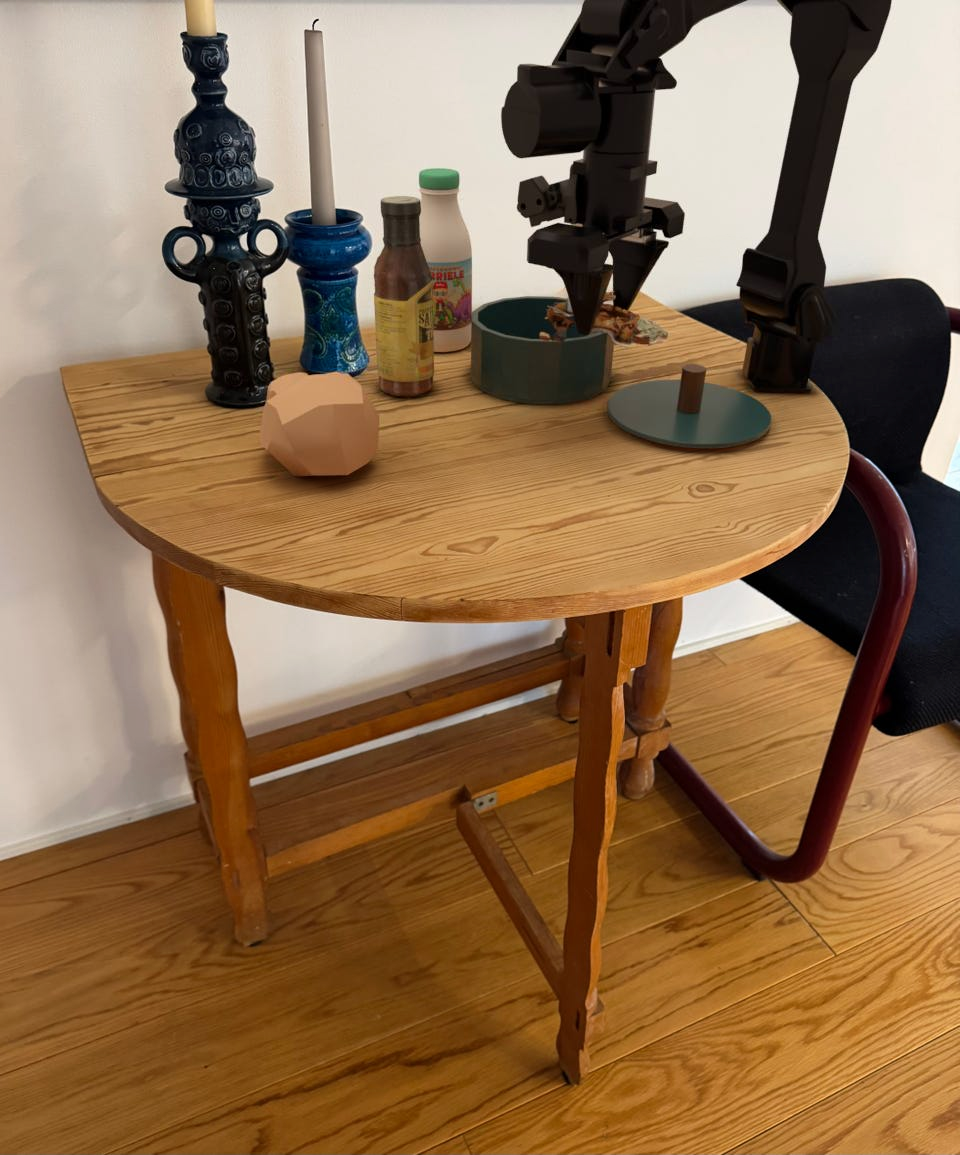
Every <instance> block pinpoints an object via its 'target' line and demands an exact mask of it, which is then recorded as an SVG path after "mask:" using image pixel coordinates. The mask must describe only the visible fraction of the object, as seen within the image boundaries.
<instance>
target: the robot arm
mask: <svg viewBox="0 0 960 1155" xmlns="http://www.w3.org/2000/svg"><path fill="white" fill-rule="evenodd" d="M747 1H748V0H583V2H582V5H581V10H580V13H579V15H578V17H577V18H576V20H575V22H574V24H573V26H572V27H571V29H570V30H569V32H568V34H567V36H566V38H565V39H564V41H563V43H562V44H561V46H560V48H559V50H558V52H557V53H556V55H555V56H554V58H553V60H552V62H551V65H550V64H549V65H542V64H536V63H520V64H518V65H517V68H516V70H517V71H516V81H515V82H514V83H513V84H511V85H510V87H509V89H508V91H507V94H506V96H505V99H504V105H503V106H502V107H501V110H500V111H501V113H500V120H501V121H500V122H501V131H502V135H503V139H504V141H505V144H506V146H507V149H508V150H509V151H510V152H511V154H512V155H513V156H515V157H516V158H518V159H530V158H531V159H532V158H538V157H539V158H540V157H548V156H550V157H551V156H558V155H568V154H578V153H581V152H582V158H580V159H576V160H573V161H572V164H571V165H570V167H569V178H567V179H564V180H560V181H557V182H553V183H549V182H548V181H547V179H546V177H545V176H544V175H538V176H535V177H531V178H528V179H524V180H520V181H519V185H518V192H517V204H516V211H517V212H518V213H519V214H520V215H521V216H522V217H523V218H524V219H528V221H529V224H530V228H534V227H538V226H540V225H542V223H544V222H552V221H554V220H558V219H561V218H563V223H562V222H556V223H552V224H550V225H547V226H544V227H541V228H538V229H536V230H535V231H534V232H533V233H532V234H531V235H530V236H529V237H528V238H527V247H526V262H527V263H528V264H531V265H535V266H541V267H545V268H547V269H551V270H553V271H555V273H556V274H557V275H558V276H559V277H560V278H561V280H562V282H563V285H564V287H566V290H567V293H568V297H569V300H570V304H571V308H572V312H573V315H574V319H575V323H576V327H577V331H578V333H579V334H583V335H589V334H590V332H591V330H592V328H593V325H594V323H595V320H596V318H597V315H598V312H599V310H600V307H601V304H602V301H603V298H604V296H605V293H606V292H607V290H608V287H609V285H610V282H611V279H612V292H613V291H614V293H612V294H613V295H615V299H614V300H613V306H617V307H619V308H622V310H623V309H625V310H628V311H630V309H631V307H632V306H633V303H634V301H635V300H636V298H637V297H638V294H639V292H640V291H641V290H642V288H643V286H644V284H645V282H646V281H647V279H648V277H649V275H650V274H651V272H652V270H653V269H654V267H655V265H656V264H657V262H658V261H659V260H660V257H661V256H662V254H663V253H664V251H665V249H668V247H669V245H670V241H669V240H666V239H673V238H675V237H677V236H679V235H683V234H684V224H685V215H686V213H685V211H684V210H683V208H682V207H681V205H680V204H679V202H678V201H673V200H666V199H659V198H652V197H646V191H647V182H648V181H647V180H648V177H649V176H652V175H656V174H657V171H658V170H657V169H658V160H651V159H650V149H651V137H652V131H653V130H652V129H653V128H652V127H653V120H654V119H653V118H654V108H655V100H656V91H662V90H674V89H676V87H677V85H678V81H677V79H676V78H675V77H674V75H673V74H672V73H671V72H670V71H669V70H668V69H667V68H666V66H665V64H664V62H663V59H662V58H661V57H662V56H663V55H665V54H666V53H668V52H669V51H671V50H672V49H674V48H675V47H677V46H678V45H679V44H681V43H682V42H683V41H685V39H686V38H687V37H688V35H689V33H691V32H690V31H692V29H693V27H695V26H696V25H698V24H699V23H700V22H702V21H703V20H705V19H707V18H710V17H712V16H714V15H717V14H720V13H722V12H724V11H726V10H729V9H731V8H733V7H736V6H737V5H740V4H742V3H744V2H747ZM892 1H893V0H776V2H778V4H779V5H780V6H781V7H782V8H783V9H784V11H786V12H787V13H788V14H789V16H790V17H791V21H790V22H791V24H790V34H789V47H790V51H791V55H792V58H793V61H794V65H795V68H796V72H797V75H798V79H797V80H798V81H797V86H796V92H795V96H794V102H793V107H792V112H791V117H790V122H789V128H788V132H787V137H786V141H785V142H786V143H785V147H784V151H783V157H782V163H781V168H780V172H779V177H778V181H777V186H776V187H777V189H776V191H775V192H776V193H775V197H774V203H773V208H772V212H771V217H770V218H771V219H770V224H769V228H768V230H767V233H766V234H765V235H764V237H763V238H762V239H761V240H760V242H759V243H758V244H757V245H756V246H755V248H751V247H747V248H746V249H745V250H744V252H743V254H742V260H741V262H742V263H741V271H740V274H739V277H738V279H737V282H736V284H735V286H736V287H738V288H739V295H738V296H739V301H740V302H741V303H742V310H743V320H744V322H745V323H747V324H753V325H754V329H753V335H752V337H748V338H747V341H746V348H745V353H744V359H743V364H742V371H741V372H742V374H743V376H744V377H745V379H746V380H747V382H748V383H749V386H750V387H751V388H752V390H753V391H755V392H775V393H776V392H779V393H781V392H782V393H811V392H812V391H813V386H812V385H811V384H810V382H809V379H810V374H811V369H812V364H813V359H814V355H815V350H816V345H817V343H822V342H823V340H824V339H825V338H829V337H831V334H832V332H833V330H834V328H835V325H836V323H837V322H838V316H837V314H836V313H835V311H834V309H833V307H832V306H831V303H830V302H829V300H828V299H827V297H826V295H825V293H824V292H825V282H826V274H827V264H826V261H825V258H824V254H823V250H822V247H821V243H820V240H819V235H820V234H819V233H820V229H821V224H822V220H823V215H824V212H825V211H824V210H825V206H826V201H827V198H828V193H829V189H830V184H831V181H832V180H831V179H832V176H833V170H834V167H835V161H836V158H837V153H838V149H839V144H840V139H841V135H842V130H843V126H844V123H845V122H844V121H845V117H846V113H847V109H848V104H849V100H850V94H851V90H852V86H853V83H854V81H855V79H856V78H857V77H858V75H859V74H860V73H861V71H863V69H864V67H865V66H866V65H867V64H868V62H869V61H870V60H871V59H872V57H873V56H874V55H875V53H876V52H877V50H878V49H879V46H880V42H881V40H882V38H883V33H884V31H885V27H886V25H887V21H888V18H889V16H890V12H891V9H892ZM577 223H578V224H582V227H580V226H574V225H571V224H577ZM655 230H656V231H655ZM658 231H661V232H662V235H663V236H664V238H666V239H665V240H663V239H660V238H657V234H658ZM609 255H610V256H611V258H612V264H611V263H606V261H607V259H608V257H609Z"/></svg>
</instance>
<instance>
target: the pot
mask: <svg viewBox="0 0 960 1155" xmlns="http://www.w3.org/2000/svg"><path fill="white" fill-rule="evenodd" d="M566 301H567V298H560V297H552V296H543V295H541V296H540V295H539V296H537V295H525V296H514V297H506V298H500V299H497V300H493V301H489V302H485V303H483V304H482V305H480V306H478V307H476V309H474V310H472V320H471V341H470V379H471V381H472V383H473V384H474V386H475V387H476V388H477V389H478V390H480V391H481V392H483V393H485V394H487V395H489V396H492V397H495V398H497V399H502V400H505V401H509V402H514V403H521V404H527V405H529V404H530V405H563V404H565V405H566V404H572V403H576V402H582V401H585V400H586V401H587V400H589V399H592V398H595V397H596V396H599V395H600V394H602V393H603V392H605V390H607V388H608V387H609V385H610V381H611V379H612V370H613V369H612V368H613V360H614V359H613V358H614V349H615V344H614V342H613V341H612V337H611V336H610V335H609V334H608V333H599V332H598V333H596V334H589V335H583V334H579V333H578V331H577V327H576V325H571V327H567V331H566V335H567V336H566V338H565V339H566V340H565V341H563V342H562V343H557V342H556V340H555V341H552V340H549V341H546V340H542V339H540V338H539V334H540V333H541V332H546V333H550V334H555V333H556V332H557V331H558V330H557V329H555V328H554V326H553V324H552V321H550V320H549V319H545V318H546V317H547V311H546V310H547V309H548V310H549V308H550V306H553V304H554V303H556V302H560V303H562V302H566ZM547 306H549V307H547Z"/></svg>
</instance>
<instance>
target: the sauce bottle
mask: <svg viewBox="0 0 960 1155" xmlns="http://www.w3.org/2000/svg"><path fill="white" fill-rule="evenodd" d="M380 213H381V217H382V224H383V225H382V227H383V229H382V230H383V237H382V242H383V247H382V250H381V252H380V253H379V255H378V256H377V258H376V261H375V264H374V266H373V279H374V293H373V304H374V325H375V326H374V327H375V348H376V349H375V350H376V352H375V353H376V369H377V371H376V372H377V375H378V386H379V389H380V390H381V391H382V392H384V393H385V394H388V395H391V396H394V397H415V396H418V395H424V393H425V394H426V393H428V392H429V391H430V390H431V389H432V388H433V386H434V375H435V352H434V330H433V329H434V326H433V321H434V319H433V278H432V275H431V272H430V270H429V267H428V264H427V261H426V258H425V255H424V252H423V249H422V247H421V243H420V242H421V239H420V223H419V216H420V214H421V199H420V198H418V197H416V196H415V197H414V196H410V195H409V196H408V195H395V196H387V197H383V198H381V199H380Z"/></svg>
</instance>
